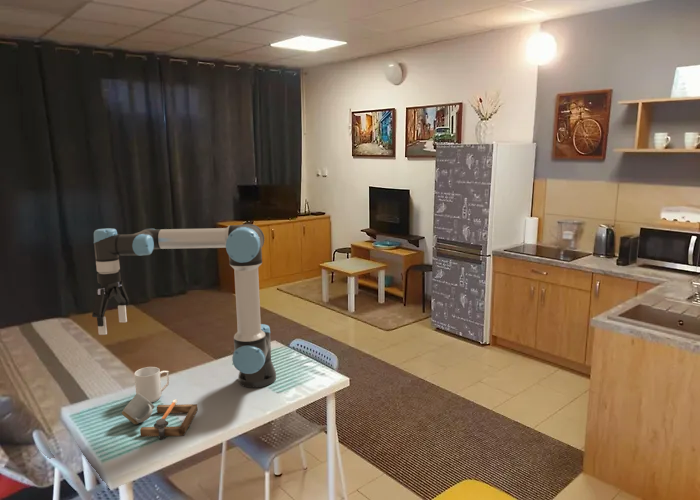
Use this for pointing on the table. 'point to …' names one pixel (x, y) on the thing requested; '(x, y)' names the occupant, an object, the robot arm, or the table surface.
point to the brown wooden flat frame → (176, 430)
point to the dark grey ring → (161, 430)
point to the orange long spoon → (162, 420)
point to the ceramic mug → (138, 409)
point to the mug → (149, 383)
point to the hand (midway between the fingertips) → (113, 328)
